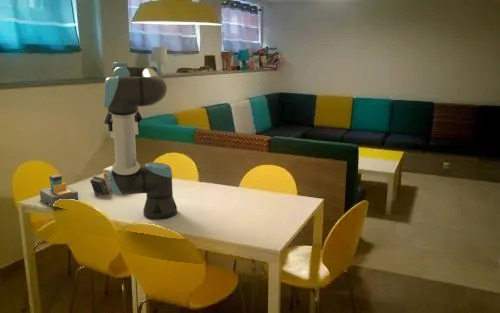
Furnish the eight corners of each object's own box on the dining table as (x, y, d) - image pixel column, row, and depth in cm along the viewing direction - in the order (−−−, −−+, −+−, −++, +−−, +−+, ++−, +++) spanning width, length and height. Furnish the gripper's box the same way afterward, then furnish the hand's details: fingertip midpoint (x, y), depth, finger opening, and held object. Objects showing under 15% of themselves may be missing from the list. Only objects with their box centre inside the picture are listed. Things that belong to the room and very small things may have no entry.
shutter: (72, 192, 209) (71, 185, 208) (58, 195, 205) (58, 188, 204) (66, 189, 213) (65, 182, 213) (53, 192, 209) (52, 185, 208)
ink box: (103, 190, 230) (102, 168, 228) (113, 185, 238) (111, 165, 235) (117, 191, 228) (116, 170, 225) (126, 187, 236) (125, 166, 233)
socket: (78, 201, 212) (77, 191, 211) (53, 207, 204) (52, 197, 203) (64, 194, 223) (63, 184, 222) (40, 199, 215) (39, 189, 214)
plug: (63, 199, 215) (61, 176, 212) (55, 201, 212) (52, 177, 209) (60, 197, 218) (57, 174, 215) (51, 199, 215) (49, 175, 212)
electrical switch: (111, 193, 225) (108, 176, 222) (103, 197, 221) (100, 180, 218) (99, 190, 230) (96, 174, 227) (91, 193, 226) (88, 177, 223)
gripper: (139, 92, 226) (141, 132, 231) (95, 94, 208) (98, 138, 212) (147, 92, 221) (149, 133, 226) (103, 95, 203) (106, 140, 208)
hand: (124, 136), depth 219 cm, fingers open, 13 cm apart
